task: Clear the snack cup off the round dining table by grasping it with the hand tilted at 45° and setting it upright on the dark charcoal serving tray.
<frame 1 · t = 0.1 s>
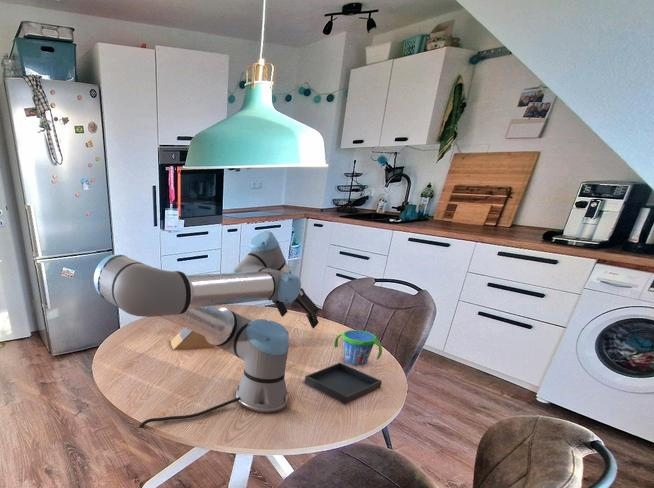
hand: (299, 319, 134), 15 cm above the table, tool tilted 35°, fingers open, 13 cm apart
sandwich container: (190, 344, 153), on the table
snack cup: (354, 362, 138), on the table
tray: (341, 385, 123), on the table
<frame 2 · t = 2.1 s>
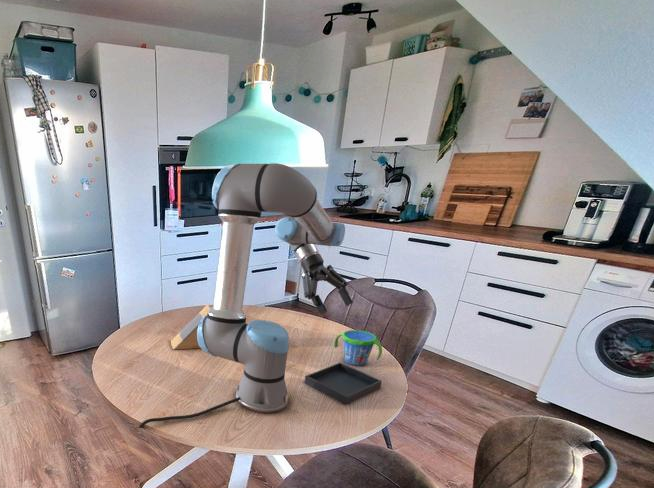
hand: (337, 308, 138), 17 cm above the table, tool tilted 45°, fingers open, 13 cm apart
nothing on the table moved.
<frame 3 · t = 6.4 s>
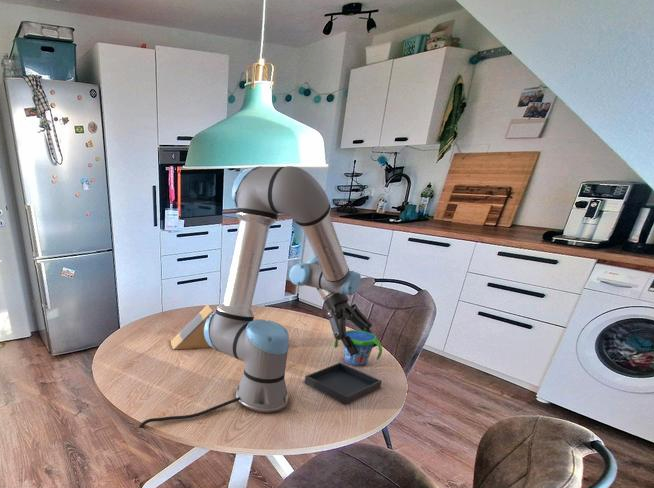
hand: (364, 350, 133), 6 cm above the table, tool tilted 45°, fingers closed on snack cup, 11 cm apart
snack cup: (354, 362, 138), on the table, touching gripper
everything else where it was.
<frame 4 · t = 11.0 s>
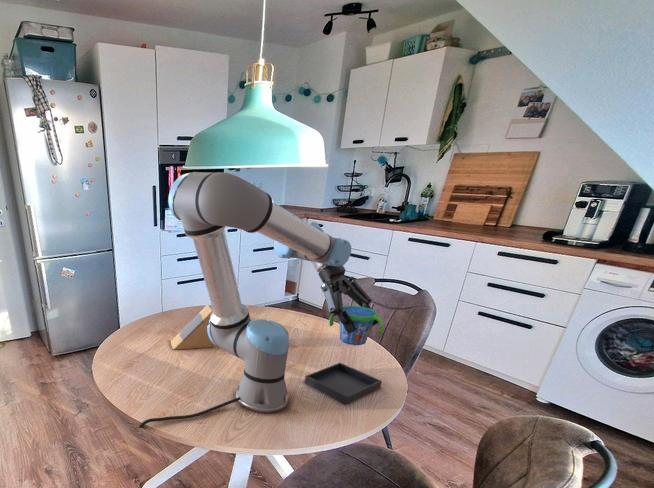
hand: (363, 328, 117), 19 cm above the table, tool tilted 45°, fingers closed on snack cup, 11 cm apart
snack cup: (351, 342, 121), point 13 cm above the table, touching gripper
everything else where it was.
when the fingers open (6 cm above the table, at t = 15.8 s): snack cup stays where it is, resting on tray.
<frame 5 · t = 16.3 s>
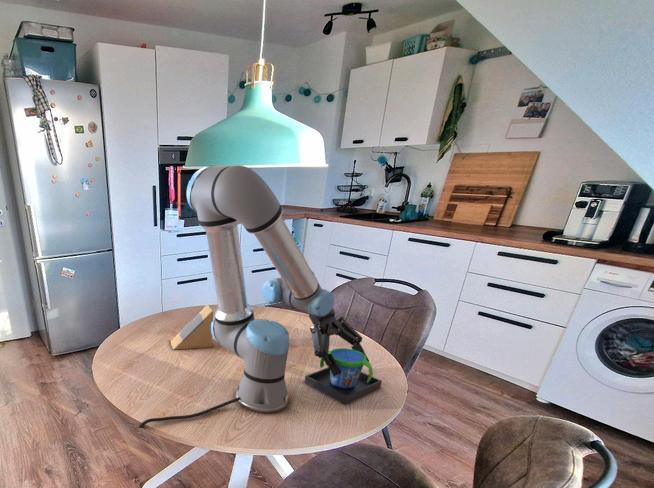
hand: (352, 368, 118), 7 cm above the table, tool tilted 45°, fingers open, 13 cm apart
snack cup: (342, 384, 123), resting on tray
everything else where it was.
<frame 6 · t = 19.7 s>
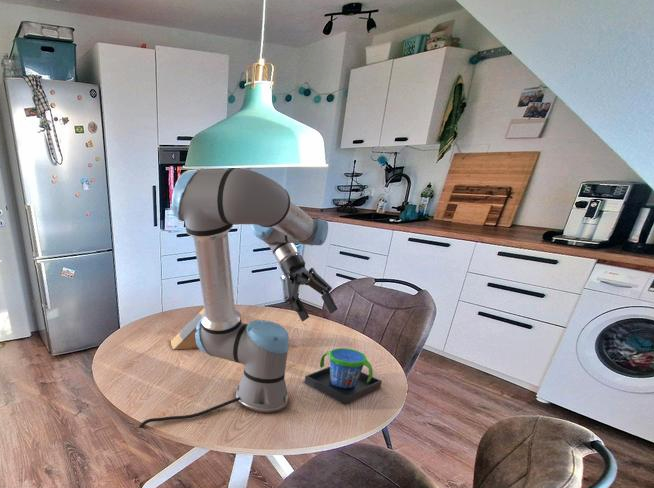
hand: (320, 315, 124), 20 cm above the table, tool tilted 45°, fingers open, 13 cm apart
nothing on the table moved.
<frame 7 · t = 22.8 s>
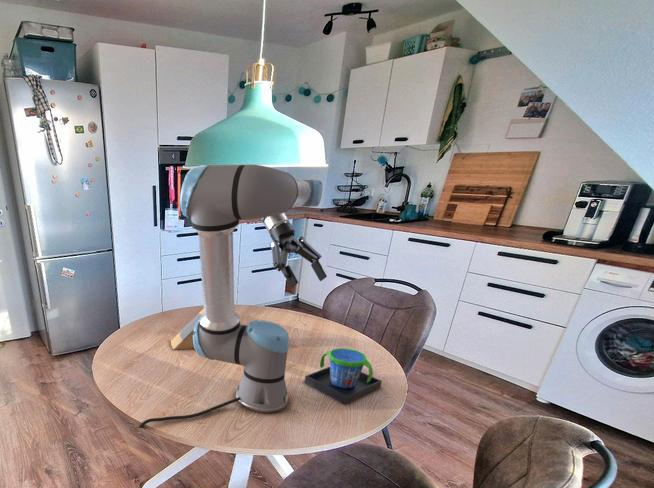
hand: (309, 281, 124), 30 cm above the table, tool tilted 45°, fingers open, 13 cm apart
nothing on the table moved.
at the end: snack cup inside the target area in the tray (0.1 cm from its centre), point 0.3 cm above the tray's base; snack cup tilted 0°; the gripper is holding nothing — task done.
